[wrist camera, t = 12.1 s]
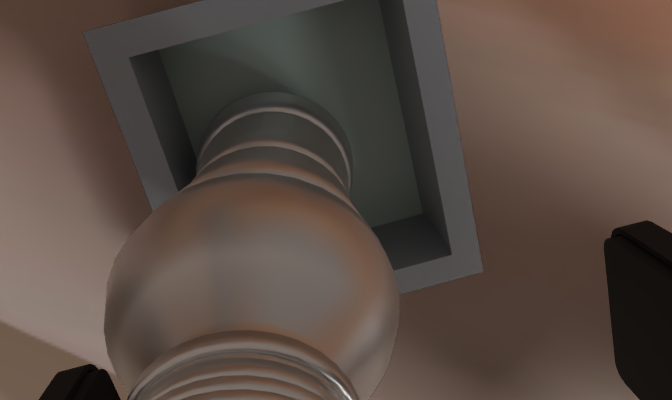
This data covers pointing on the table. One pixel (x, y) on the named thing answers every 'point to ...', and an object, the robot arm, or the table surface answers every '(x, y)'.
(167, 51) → the grey open box
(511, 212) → the table surface
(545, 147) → the table surface
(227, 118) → the plastic bottle
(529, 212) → the table surface
